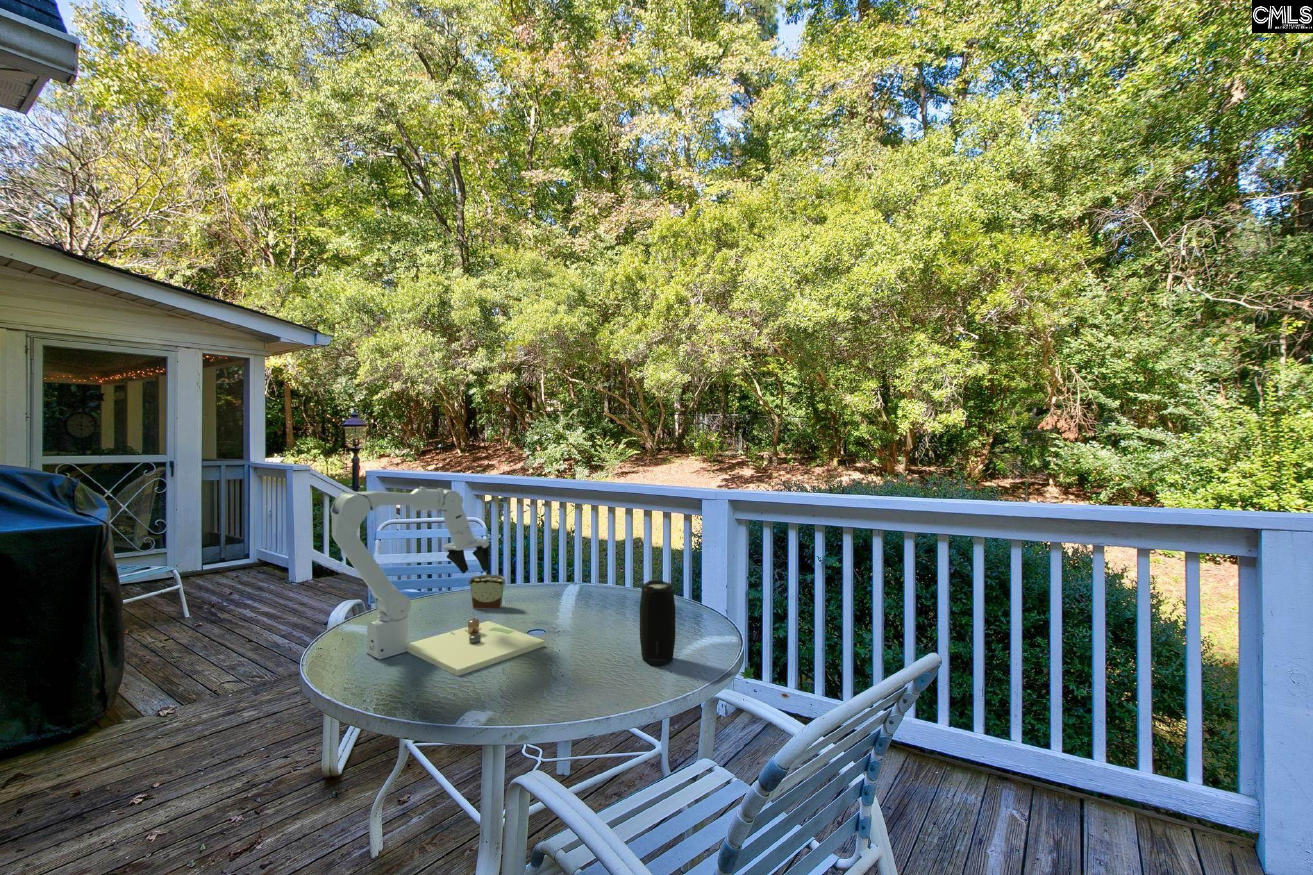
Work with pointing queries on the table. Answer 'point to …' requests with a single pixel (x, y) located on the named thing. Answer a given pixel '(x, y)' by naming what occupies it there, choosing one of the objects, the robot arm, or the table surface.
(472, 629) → the dial needle
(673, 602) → the portable speaker
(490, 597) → the food container
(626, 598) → the table surface
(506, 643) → the dial board
